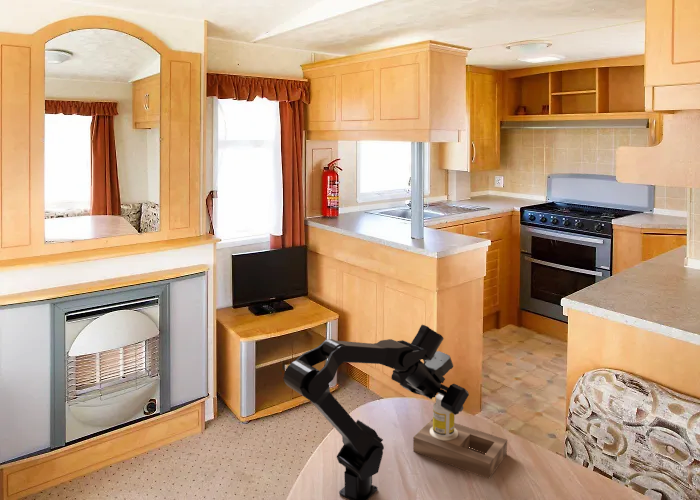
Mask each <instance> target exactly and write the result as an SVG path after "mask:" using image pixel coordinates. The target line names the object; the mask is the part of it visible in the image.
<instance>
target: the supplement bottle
mask: <svg viewBox="0 0 700 500" xmlns="http://www.w3.org/2000/svg"><path fill="white" fill-rule="evenodd" d="M443 397H444V396H443V395H441V394H439V393H437V394H436V396H435V403H434V404H433V406H432V419H433V432H434V433H435V434H436V435H437V436H440V437H449V436H451V435H453V434H454V423H455V414H453V413H451V412H449V411H447V410H445V409H444V408H443V407H442V406H441V400H442V398H443Z"/></svg>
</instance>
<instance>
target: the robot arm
mask: <svg viewBox="0 0 700 500" xmlns="http://www.w3.org/2000/svg"><path fill="white" fill-rule="evenodd" d="M444 339H445V338H444V337H443V335H442V334H440V333H438V332H436V331H435V330H434V329H432V328H430V326H428V325H425V324H421V325H420V326H419V329H418V331H417V333H416V334H415V336H414V337H413V339H412V341H411V342H408V341H406V340H404V339H401V340H394V339H393V338H392V339H391V338H390V339H382V340H378V342H375V343H368V342H358V341H356V342H355V341H347V340H346V341H345V340H335V339H333V338H331V339H329V338H328V339H325V340H324V341H323V342H322V343H321V344H320V345H318V346H317V347H314V348H312V349H310V350H308V351H305V352H303V353H302V354H301V355H300V356H299V357H297V358H296V359H295V360H294V361H291V363H289V365H288V366H287V367H286V368H285V370H284V371H285V372H284V375H283V382H284V383H285V385H286V386H287V387H289V388H290V389H291V390H293V391H295V392H296V393H297V394H299V395H301V396H302V397H304V398H305V399H307V400H308V401H309V402H311V404H312V405H313V406H314V407H315V408H316V409H317V410H318V412H320V413H321V414H322V416H324V418H325V419H326V420H327V421H328V422H329V423H330V424H331V426H332V427H333V428H334V429H335V430H336V431H337V432H338V433H339V434H340V435H341V439H342V444H343V445H342V447H341V448H340V449H339V452H338V454H336V460H337V461H338V464H340V465H342V466H343V467H344V468H345V471H343V472H344V476H343V477H344V486H343V488H342V489H340V490H339V492H338V493H339V495H340V496H342V497H344V498H347V499H348V500H369V499H370V498H371V497H372V496H373V495H374V494H375V493H376V492H377V491H378V487H377V486H376V485H374V484H373V476H374V475H376V474H378V473H379V470H380V467H381V462H382V459H383V456H384V455H383V454H384V452H383V450H384V447H385V446H384V444H383V443H382V442H383V441H384V438H382V437H380V436H379V435H378V433H377V431H376V430H375V429H373V427H370V426H369V425H367V424H365V423H364V422H363V421H361V420H359V419H357V420H356V421H355V420H354V419H353V418H352V416H351V415H350V414H349V412H348V411H347V410H346V409H345V408H344V407H343V406H342V405H341V403H340V402H338V400H337V399H336V397H334V395H333V393H331V388H330V383H331V382H332V381H333V380H334V379H335V376H336V374H337V372H338V369H339V367H340V366H341V365H342V364H343V363H350V364H351V363H352V364H354V363H355V364H372V365H373V364H375V365H382V366H385V367H387V368H390V369H393V370H392V374H391V380H392V381H394V382H397V383H399V385H400V387H402V388H404V389H405V390H407V391H408V392H411V393H412V394H416V395H420V396H424V398H425V397H426V398H427V399H429V400H433V399H434V398H436V395H438V394H441V395H443V396H444V397H443V398H442V400H441V406H442V407H443V408H444V409H445V410H447V411H449V412H451V413H453V414H454V416H455V415H458V414H459V413H461V412H462V411H464V405H465V402H466V401H467V399H468V397H469V396H470V395H469V392H468V390H467V389H466V388H464V387H462V386H460V385H458V384H455V383H452V384H450V385H449V386H447V385H444V384H443V383H444V382H445V381H446V378H445V377H444V376H445V375H446V374H447V373H448V372H450V371H451V370H452V369H453V368H454V363H453V361H452V359H451V356H450V355H449V354H447V353H445V352H442V351H440V350H439V348H440V345H441V344H442V343H443V341H444ZM421 360H422V361H421ZM325 361H326V362H325ZM322 362H325V364H324V366H322V368H321V369H320V370H319V369H317V368H316V367H314V366H316V365H318V364H319V363H322Z"/></svg>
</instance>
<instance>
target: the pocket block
mask: <svg viewBox="0 0 700 500" xmlns="http://www.w3.org/2000/svg"><path fill="white" fill-rule="evenodd" d="M412 441H413V446H412V447H413V448H412V449H413V452H415V453H416V454H417V453H418V454H420V455H422V456H425V457H429V458H430V459H434V460H437V461H439V462H442V463H444V464H447V465H449V466H452V467H455V468H458V469H461V470H462V471H466V472H468V473H471V474H475V475H477V476H479V477H482V478H484V479H487V480H489V479H490V478H492V475H493V474H494V472H495V471H496V470H497V468H498V467H499V465H500V464H501V463H502V461H503V460H504V459H505V457H507V453H508V439H506V438H504V437H499V436H497V435H493V434H490V433H488V432H484V431H482V430H478V429H475V428H473V427H469V426H465V425H463V424H459V423H456V422H454V434H453V435H451V436H449V437H440V436H437V435H436V434H435V433H434V432H433V418H432V419H430V421H429V422H428V423H427V424H426V425H424V426H423V427H422V428H421V429H420V430H419V431H418V432H417V433H416V434H415V435H414V436H413V439H412ZM469 447H470V448H469ZM471 448H473V449H475V450H473V449H471ZM476 450H478V451H476ZM479 451H481V452H479ZM482 452H483V453H482ZM485 453H486V454H485Z"/></svg>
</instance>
